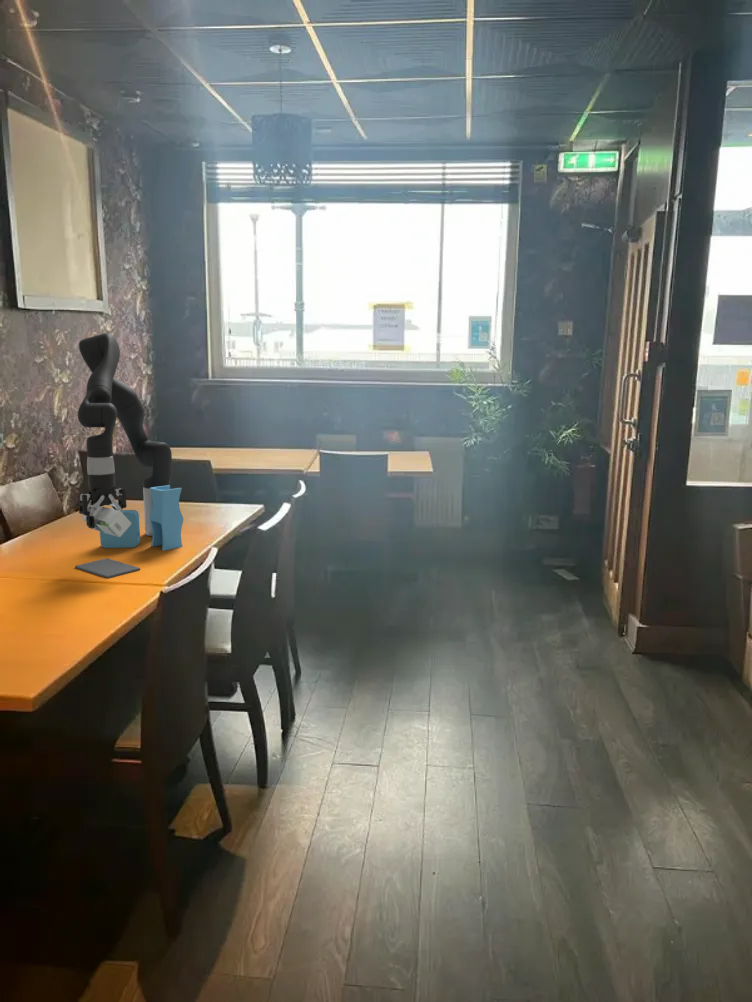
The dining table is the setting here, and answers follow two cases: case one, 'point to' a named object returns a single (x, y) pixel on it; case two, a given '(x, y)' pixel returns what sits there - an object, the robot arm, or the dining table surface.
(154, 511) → the blue wavy stand
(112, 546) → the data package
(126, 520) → the syrup box
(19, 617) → the dining table surface
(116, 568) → the mat
